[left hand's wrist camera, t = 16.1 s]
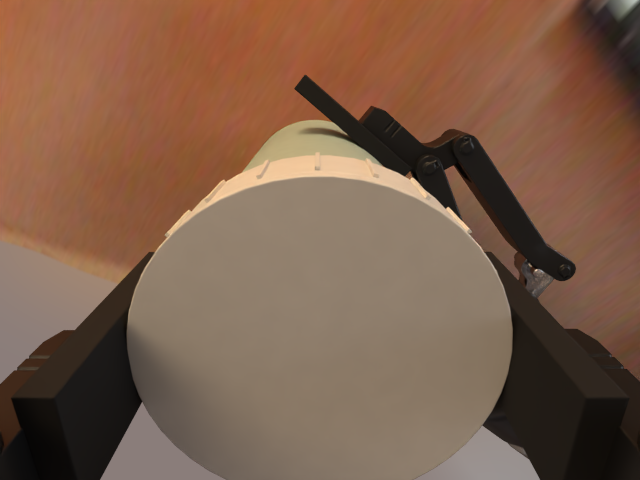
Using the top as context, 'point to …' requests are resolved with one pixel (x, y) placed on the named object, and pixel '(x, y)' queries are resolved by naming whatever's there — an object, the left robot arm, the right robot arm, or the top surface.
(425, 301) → the lid
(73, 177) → the top surface
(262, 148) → the screw-top jar
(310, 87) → the right robot arm
